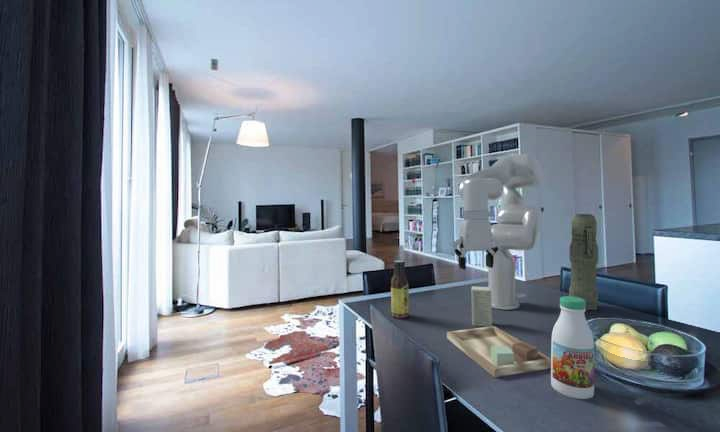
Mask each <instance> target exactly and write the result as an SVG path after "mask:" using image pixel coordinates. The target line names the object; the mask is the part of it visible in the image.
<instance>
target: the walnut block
mask: <svg viewBox="0 0 720 432" xmlns="http://www.w3.org/2000/svg"><path fill="white" fill-rule="evenodd" d="M538 349H539V347H536V346H534V345H531V344H530V343H528V342H525V341H521V343H517V344H513V345H512V352H513V353H514V361H515V362H517V363H520V362H527V361H533V360H538V351H539V350H538Z"/></svg>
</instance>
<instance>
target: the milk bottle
mask: <svg viewBox="0 0 720 432" xmlns="http://www.w3.org/2000/svg"><path fill="white" fill-rule="evenodd" d="M559 308H560V313H559V316H558V319H557V320H556V322H555V324H554V326H553V329H552V332H551V341H550V343H551V345H550V347H551V348H550V349H551V351H550V353H551V354H550V358H551V368H550V385H551V388H553V389H554V390H555V391H556V392H558V393H559V394H562V395H564V396H566V397H569V398H573V399H579V400H588V399H592V398H593V397H594V395H595V341H594V335H593V333H592V330H591V328H590V325H589V324H588V322H587V319H586V315H585V312H587V311H586V309H585V308H586V301H585V300H584V299H582V298H578V297H573V296H569V295H566V296H561V297H559Z"/></svg>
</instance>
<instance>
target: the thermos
mask: <svg viewBox="0 0 720 432" xmlns="http://www.w3.org/2000/svg"><path fill="white" fill-rule="evenodd" d="M597 226H598V224H597V220H596V218H595V215H593V214H591V213H588V214H587V213H582V214H581V213H580V214H578V213H576V215H574V216H573V217H572V221H571V242H570V244H569V261H570V286H569V287H568V296H573V297H578V298H582V299H584V300H585V301H586V308H585V309H586V310H596V311H597V310H598V303H599V291H598V289H597V269H598V268H597V266H598V263H599V246H598V244H597V230H598V229H597V228H598V227H597Z"/></svg>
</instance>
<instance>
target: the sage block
mask: <svg viewBox="0 0 720 432" xmlns="http://www.w3.org/2000/svg"><path fill="white" fill-rule="evenodd" d="M491 363H492V364H493V365H495V366H502V365H508V364H514V353H513V352H512V351H511V350H510V349H509V348H508V346H491Z"/></svg>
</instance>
